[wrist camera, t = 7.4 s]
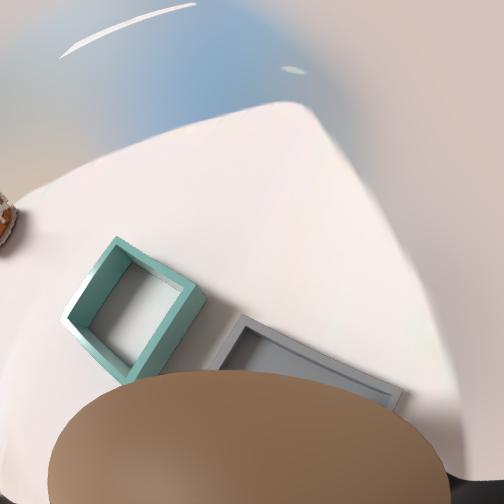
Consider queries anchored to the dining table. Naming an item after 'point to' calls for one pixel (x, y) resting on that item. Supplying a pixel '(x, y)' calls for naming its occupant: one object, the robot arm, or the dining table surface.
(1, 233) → the decorative ornament
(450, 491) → the robot arm
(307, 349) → the tray
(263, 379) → the brown tall rounded cylinder
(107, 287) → the teal square frame
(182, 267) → the dining table surface
